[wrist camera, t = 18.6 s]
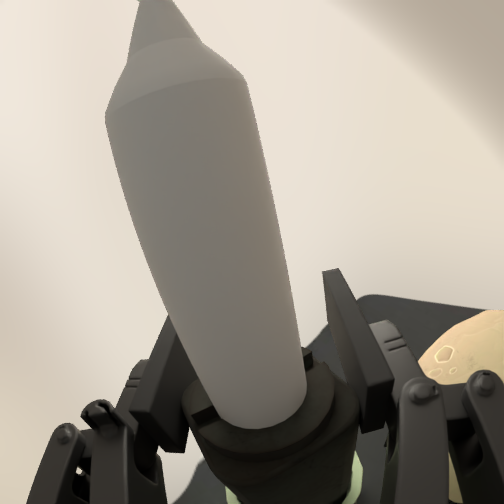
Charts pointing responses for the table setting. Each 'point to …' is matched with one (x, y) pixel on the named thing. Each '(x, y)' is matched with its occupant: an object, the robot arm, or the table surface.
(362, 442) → the table surface
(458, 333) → the flask
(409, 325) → the table surface
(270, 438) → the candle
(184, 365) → the robot arm
